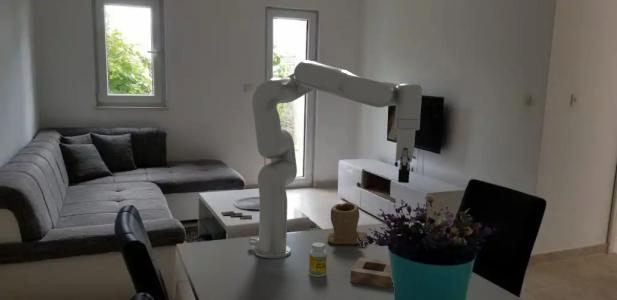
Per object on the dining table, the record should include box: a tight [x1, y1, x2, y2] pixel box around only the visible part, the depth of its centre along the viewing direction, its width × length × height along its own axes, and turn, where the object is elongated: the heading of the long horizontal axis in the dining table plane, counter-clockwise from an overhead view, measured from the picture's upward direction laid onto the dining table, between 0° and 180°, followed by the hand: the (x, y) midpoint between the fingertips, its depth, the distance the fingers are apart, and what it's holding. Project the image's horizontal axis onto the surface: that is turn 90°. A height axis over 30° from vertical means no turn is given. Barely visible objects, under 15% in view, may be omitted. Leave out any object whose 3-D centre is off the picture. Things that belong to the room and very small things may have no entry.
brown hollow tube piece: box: [327, 202, 368, 245], centre depth 184 cm, size 15×12×15 cm
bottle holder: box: [350, 257, 393, 289], centre depth 154 cm, size 12×12×4 cm
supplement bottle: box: [308, 242, 328, 278], centre depth 155 cm, size 5×5×10 cm
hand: (403, 179), depth 155 cm, fingers open, 9 cm apart
